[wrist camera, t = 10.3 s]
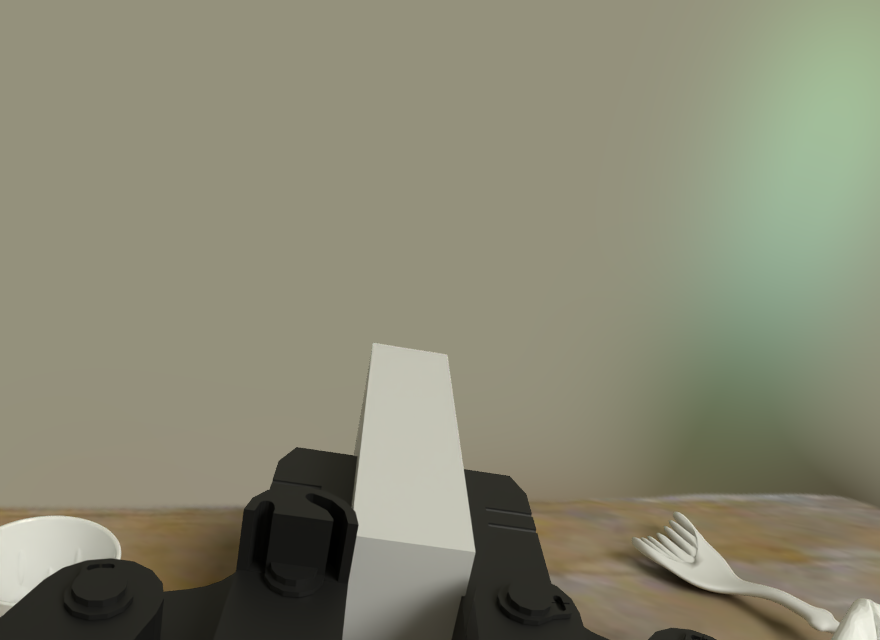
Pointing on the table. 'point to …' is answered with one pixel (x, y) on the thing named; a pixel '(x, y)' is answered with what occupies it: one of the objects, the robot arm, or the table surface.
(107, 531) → the white cup
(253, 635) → the robot arm
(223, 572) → the table surface
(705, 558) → the white plastic spork
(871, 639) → the storage basket
